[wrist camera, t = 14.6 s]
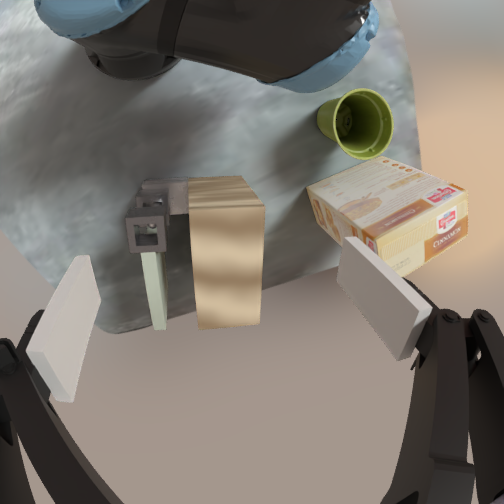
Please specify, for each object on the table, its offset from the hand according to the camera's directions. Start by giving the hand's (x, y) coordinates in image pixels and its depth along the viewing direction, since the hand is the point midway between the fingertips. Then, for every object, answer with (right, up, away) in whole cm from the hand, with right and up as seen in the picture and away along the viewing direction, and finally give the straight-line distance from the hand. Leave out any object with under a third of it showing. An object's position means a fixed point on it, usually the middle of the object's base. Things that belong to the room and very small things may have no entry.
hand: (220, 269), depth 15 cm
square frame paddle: (-12, +2, +26) cm, 28 cm away
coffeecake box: (+17, +11, +32) cm, 38 cm away
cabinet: (-7, +5, +29) cm, 30 cm away
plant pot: (+14, +21, +26) cm, 36 cm away
